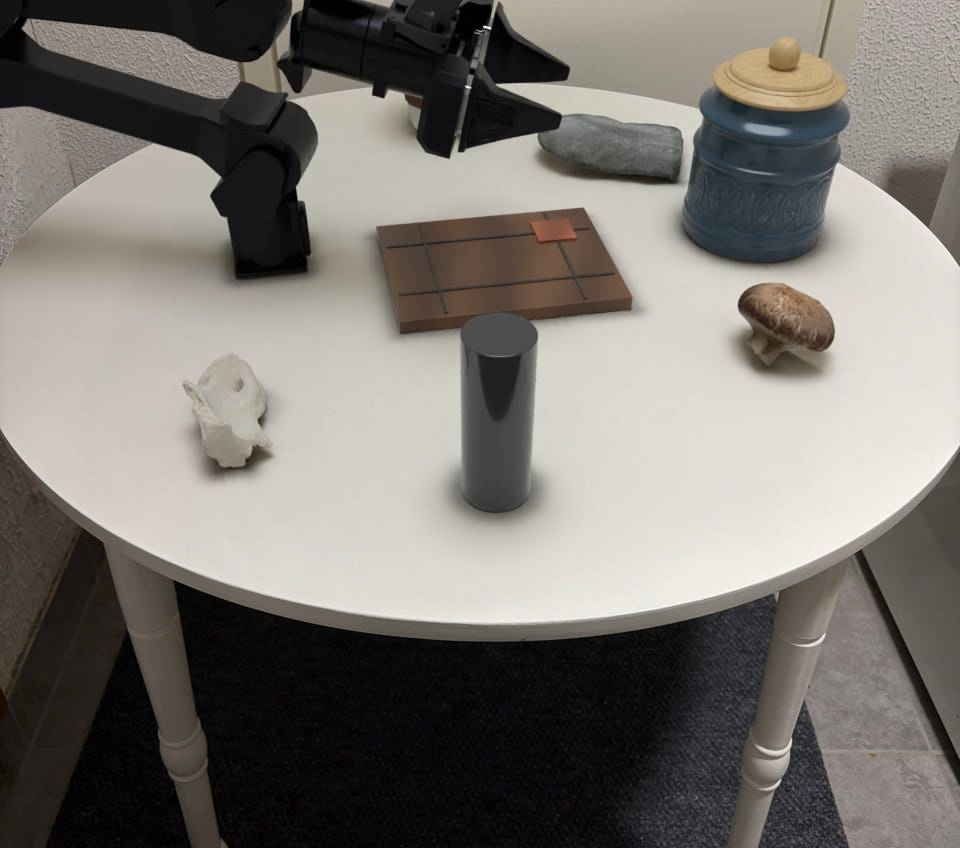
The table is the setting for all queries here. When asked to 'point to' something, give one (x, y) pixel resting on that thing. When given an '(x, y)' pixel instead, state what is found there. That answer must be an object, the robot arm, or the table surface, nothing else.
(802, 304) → the mushroom
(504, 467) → the dark grey cylinder
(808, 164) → the canister
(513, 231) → the board
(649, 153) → the stone
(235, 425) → the coral
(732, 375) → the table surface
